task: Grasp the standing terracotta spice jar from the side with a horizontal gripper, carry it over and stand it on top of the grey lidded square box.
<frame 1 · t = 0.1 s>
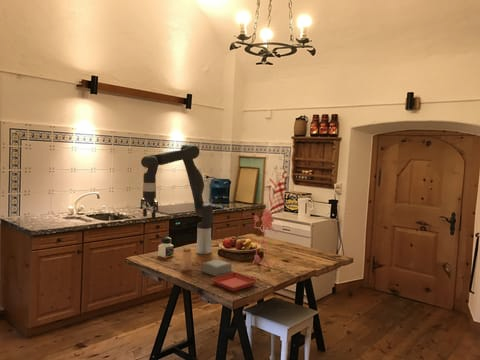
hand: (149, 217, 237), 29 cm above the table, tool pointing down, fingers open, 8 cm apart
medicine bottle: (165, 256, 262), on the table
figurine: (265, 265, 250), on the table
plant saucer: (233, 285, 214), on the table
jar: (186, 269, 237), on the table
grey lidded square box: (216, 271, 234), on the table
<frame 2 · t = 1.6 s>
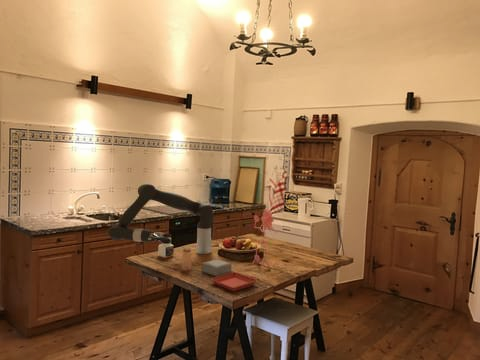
hand: (168, 237, 236), 18 cm above the table, tool horizontal, fingers open, 8 cm apart
nothing on the table moved.
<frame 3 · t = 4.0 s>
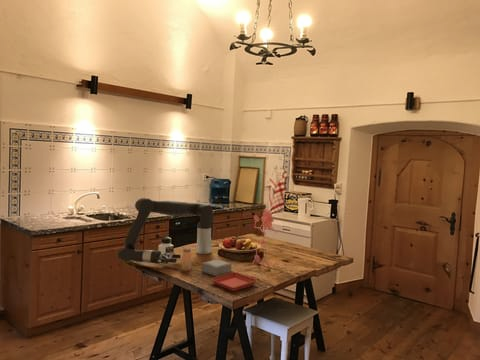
hand: (178, 258, 237), 6 cm above the table, tool horizontal, fingers open, 8 cm apart
nothing on the table moved.
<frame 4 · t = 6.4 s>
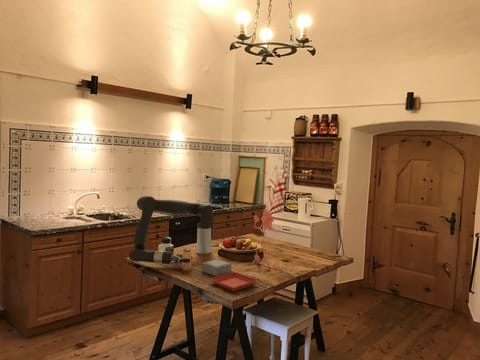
hand: (191, 259, 236), 6 cm above the table, tool horizontal, fingers closed on jar, 5 cm apart
jar: (186, 269, 237), on the table, touching gripper
everything else where it was.
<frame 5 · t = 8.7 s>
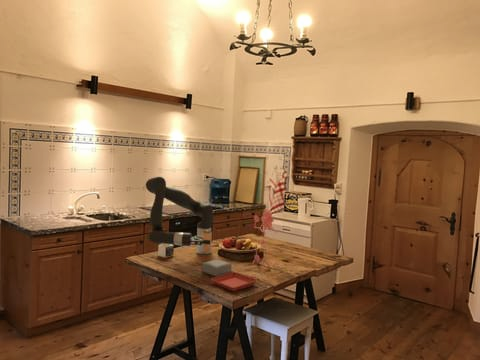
hand: (211, 241, 233), 18 cm above the table, tool horizontal, fingers closed on jar, 5 cm apart
jar: (206, 251, 234), point 12 cm above the table, touching gripper
everything else where it was.
when the fingers open (12 cm above the table, at t = 11.1 s): jar stays where it is, resting on grey lidded square box.
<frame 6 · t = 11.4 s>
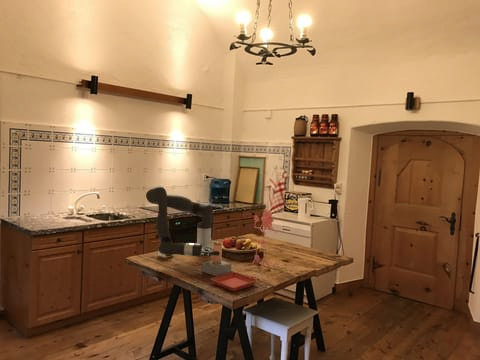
hand: (220, 251, 233), 12 cm above the table, tool horizontal, fingers open, 7 cm apart
jar: (216, 262, 234), point 5 cm above the table, touching grey lidded square box
everything else where it was.
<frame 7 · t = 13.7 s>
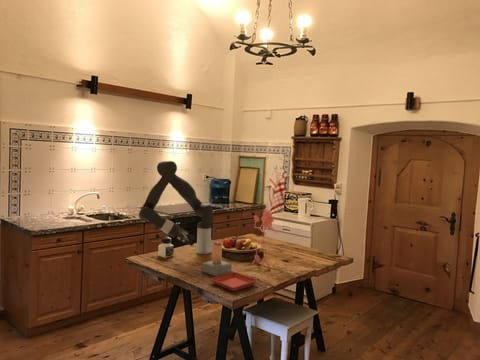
hand: (193, 241, 241), 15 cm above the table, tool tilted 60°, fingers open, 8 cm apart
nothing on the table moved.
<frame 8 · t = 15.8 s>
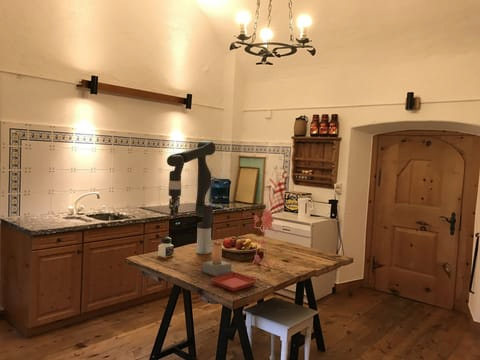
hand: (174, 214, 245), 30 cm above the table, tool pointing down, fingers open, 8 cm apart
nothing on the table moved.
at the end: jar inside the target area on the grey lidded square box (0.1 cm from its centre), point 5.3 cm above the grey lidded square box's base; jar tilted 0°; the gripper is holding nothing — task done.
